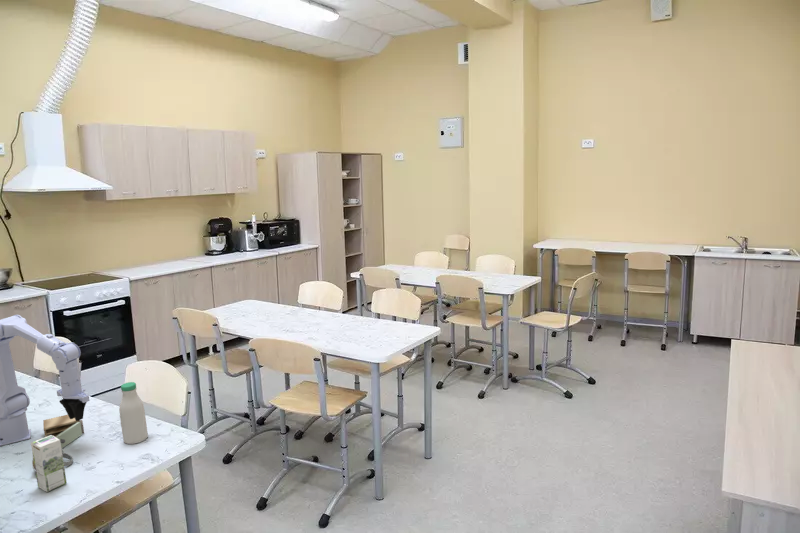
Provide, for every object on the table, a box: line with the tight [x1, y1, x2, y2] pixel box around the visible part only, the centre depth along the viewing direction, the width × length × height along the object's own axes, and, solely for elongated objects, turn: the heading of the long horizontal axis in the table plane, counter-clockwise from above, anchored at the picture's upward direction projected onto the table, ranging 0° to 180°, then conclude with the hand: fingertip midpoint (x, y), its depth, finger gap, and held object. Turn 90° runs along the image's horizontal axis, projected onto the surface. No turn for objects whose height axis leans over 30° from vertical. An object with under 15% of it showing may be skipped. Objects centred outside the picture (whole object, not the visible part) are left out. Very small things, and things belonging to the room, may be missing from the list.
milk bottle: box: [119, 381, 148, 445], centre depth 197 cm, size 8×8×20 cm
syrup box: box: [30, 435, 67, 493], centre depth 171 cm, size 6×6×14 cm
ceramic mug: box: [32, 447, 74, 470], centre depth 183 cm, size 11×8×8 cm
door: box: [56, 422, 83, 449], centre depth 199 cm, size 10×2×5 cm, turn 171°
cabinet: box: [43, 414, 85, 438], centre depth 206 cm, size 12×9×5 cm
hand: (76, 418), depth 194 cm, fingers open, 3 cm apart
